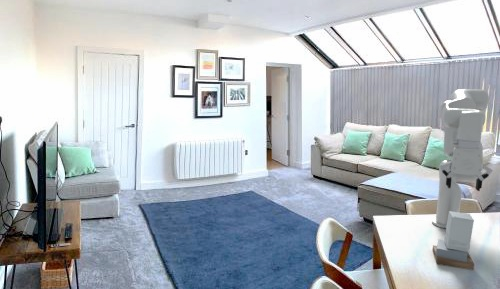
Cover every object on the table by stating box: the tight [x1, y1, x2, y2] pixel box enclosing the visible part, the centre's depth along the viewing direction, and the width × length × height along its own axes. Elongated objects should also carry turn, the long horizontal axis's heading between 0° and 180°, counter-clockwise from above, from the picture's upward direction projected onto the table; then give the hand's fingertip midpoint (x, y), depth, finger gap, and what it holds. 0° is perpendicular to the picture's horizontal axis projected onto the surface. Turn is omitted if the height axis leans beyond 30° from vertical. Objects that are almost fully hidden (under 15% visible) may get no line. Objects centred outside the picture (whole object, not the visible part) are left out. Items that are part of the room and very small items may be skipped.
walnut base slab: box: [432, 244, 475, 271], centre depth 140 cm, size 12×12×3 cm
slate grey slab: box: [436, 238, 467, 262], centre depth 140 cm, size 10×10×3 cm
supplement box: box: [443, 211, 475, 253], centre depth 138 cm, size 7×7×13 cm
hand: (462, 188), depth 139 cm, fingers open, 9 cm apart
